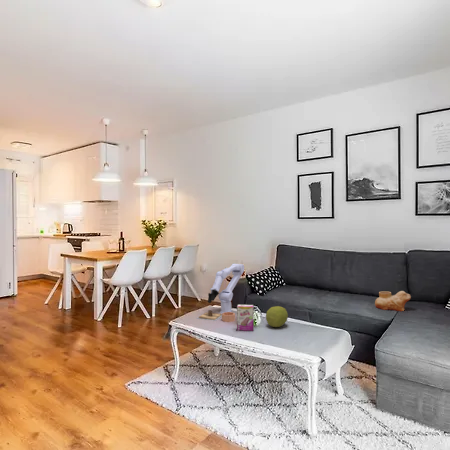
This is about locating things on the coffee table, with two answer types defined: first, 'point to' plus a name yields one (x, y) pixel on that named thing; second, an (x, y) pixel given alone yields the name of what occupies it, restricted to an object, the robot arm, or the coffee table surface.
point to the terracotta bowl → (228, 316)
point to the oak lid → (210, 315)
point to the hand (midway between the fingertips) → (210, 301)
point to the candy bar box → (245, 317)
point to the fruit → (276, 316)
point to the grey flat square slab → (209, 319)
